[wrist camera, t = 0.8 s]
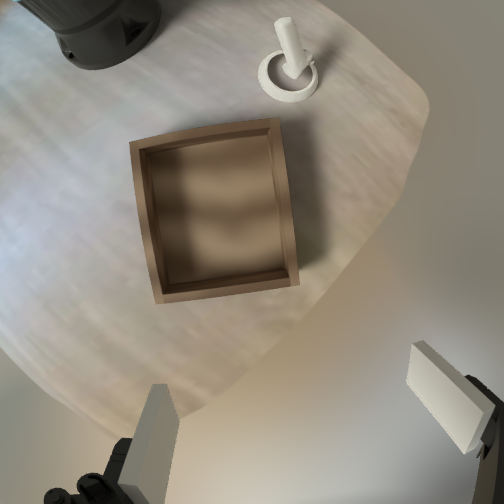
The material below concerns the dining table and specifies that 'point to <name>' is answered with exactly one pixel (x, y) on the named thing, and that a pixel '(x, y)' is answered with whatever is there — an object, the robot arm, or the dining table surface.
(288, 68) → the hook
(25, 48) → the dining table surface
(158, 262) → the wooden tray
